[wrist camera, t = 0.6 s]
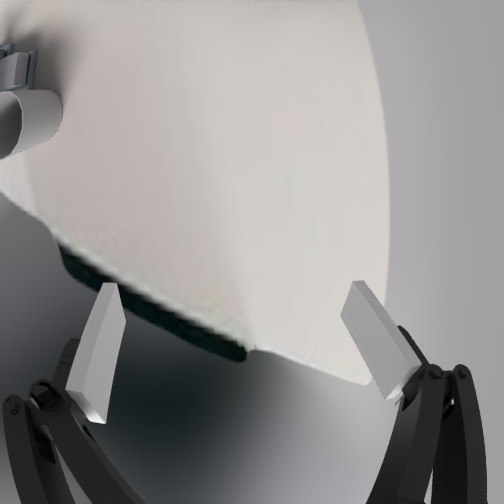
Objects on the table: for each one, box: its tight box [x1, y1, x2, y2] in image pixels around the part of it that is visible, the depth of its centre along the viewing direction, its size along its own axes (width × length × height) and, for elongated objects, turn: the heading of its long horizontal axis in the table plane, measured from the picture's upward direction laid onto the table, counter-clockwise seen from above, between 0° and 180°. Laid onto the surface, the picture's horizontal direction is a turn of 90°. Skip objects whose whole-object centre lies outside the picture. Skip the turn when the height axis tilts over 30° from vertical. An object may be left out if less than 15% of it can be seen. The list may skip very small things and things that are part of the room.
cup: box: [0, 89, 63, 160], centre depth 22 cm, size 8×8×10 cm
